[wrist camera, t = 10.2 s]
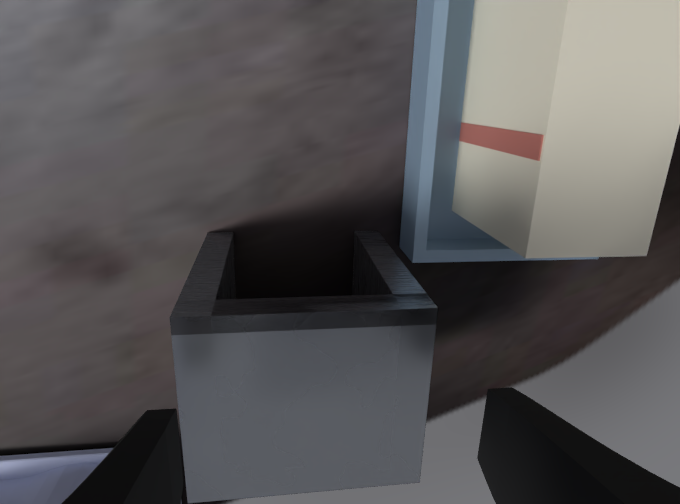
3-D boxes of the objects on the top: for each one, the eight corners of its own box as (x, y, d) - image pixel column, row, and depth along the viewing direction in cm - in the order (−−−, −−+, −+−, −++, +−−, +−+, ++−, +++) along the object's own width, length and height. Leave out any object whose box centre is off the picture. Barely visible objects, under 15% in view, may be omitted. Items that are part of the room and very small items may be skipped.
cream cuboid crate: (450, 210, 19) (523, 258, 14) (488, -140, 16) (610, -270, 10) (541, 210, 20) (648, 255, 14) (599, -128, 16) (774, -244, 11)
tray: (399, 247, 20) (412, 262, 18) (432, -204, 15) (455, -246, 13) (569, 244, 21) (598, 258, 19) (651, -177, 16) (700, -212, 14)
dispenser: (216, 362, 21) (187, 503, 14) (207, 232, 19) (169, 317, 12) (370, 354, 22) (419, 482, 15) (377, 230, 20) (438, 307, 13)
